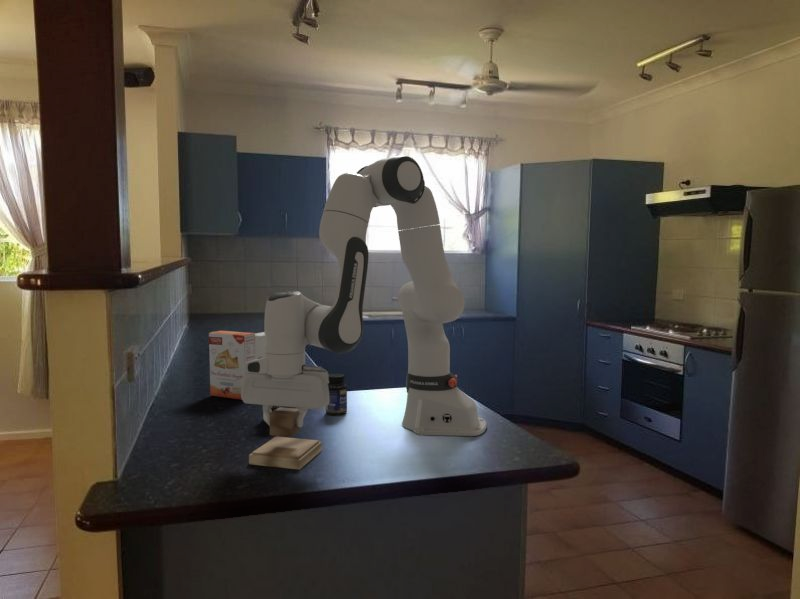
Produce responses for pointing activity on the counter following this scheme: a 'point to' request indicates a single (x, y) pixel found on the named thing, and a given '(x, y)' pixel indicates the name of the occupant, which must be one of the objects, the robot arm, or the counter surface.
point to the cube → (283, 422)
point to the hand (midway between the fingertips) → (285, 425)
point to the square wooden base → (286, 452)
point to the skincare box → (260, 344)
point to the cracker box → (229, 361)
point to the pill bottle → (337, 395)
